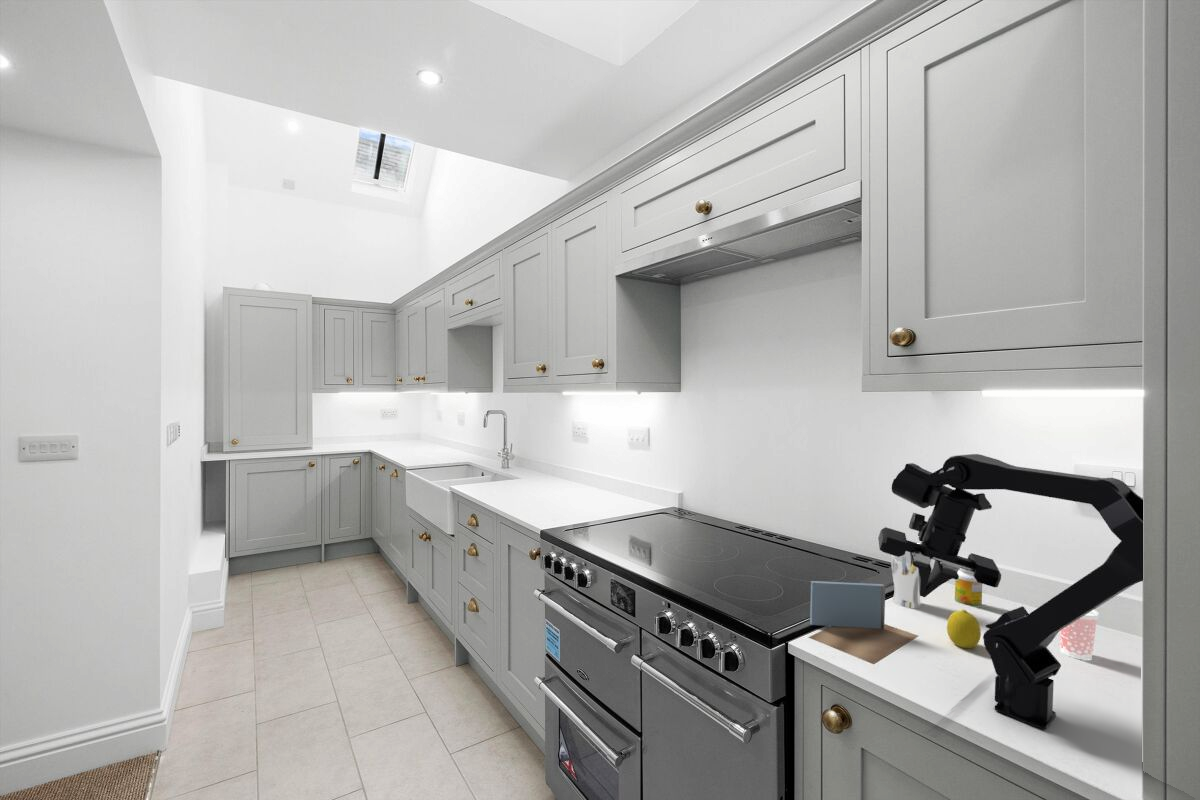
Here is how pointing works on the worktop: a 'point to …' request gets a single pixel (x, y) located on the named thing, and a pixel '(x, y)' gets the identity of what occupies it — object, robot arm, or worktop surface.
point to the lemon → (963, 629)
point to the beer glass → (905, 581)
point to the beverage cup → (1079, 636)
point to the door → (847, 604)
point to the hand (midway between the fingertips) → (921, 595)
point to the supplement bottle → (968, 589)
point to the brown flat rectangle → (864, 641)
